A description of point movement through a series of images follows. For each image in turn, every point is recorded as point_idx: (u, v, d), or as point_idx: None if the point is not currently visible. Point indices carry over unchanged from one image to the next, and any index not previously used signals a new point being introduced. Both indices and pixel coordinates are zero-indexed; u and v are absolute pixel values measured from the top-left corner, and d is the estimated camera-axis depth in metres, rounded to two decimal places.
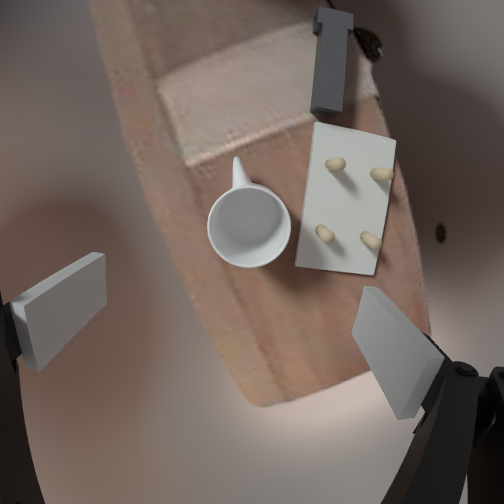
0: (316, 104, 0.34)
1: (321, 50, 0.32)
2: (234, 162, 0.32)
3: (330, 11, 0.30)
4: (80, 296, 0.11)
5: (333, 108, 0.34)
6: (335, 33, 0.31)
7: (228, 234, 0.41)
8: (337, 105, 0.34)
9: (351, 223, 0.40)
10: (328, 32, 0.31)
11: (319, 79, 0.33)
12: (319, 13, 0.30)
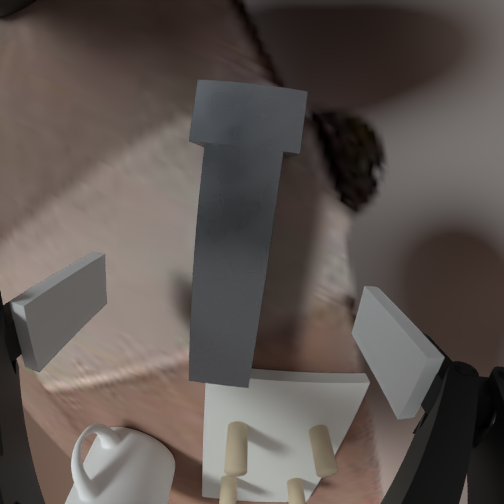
0: (190, 377, 0.16)
1: (197, 243, 0.14)
2: (71, 466, 0.15)
3: (234, 93, 0.12)
4: (80, 296, 0.11)
5: (228, 384, 0.16)
6: (241, 177, 0.13)
7: None
8: (237, 378, 0.16)
9: (273, 474, 0.23)
10: (219, 177, 0.13)
11: (193, 327, 0.15)
12: (197, 108, 0.12)
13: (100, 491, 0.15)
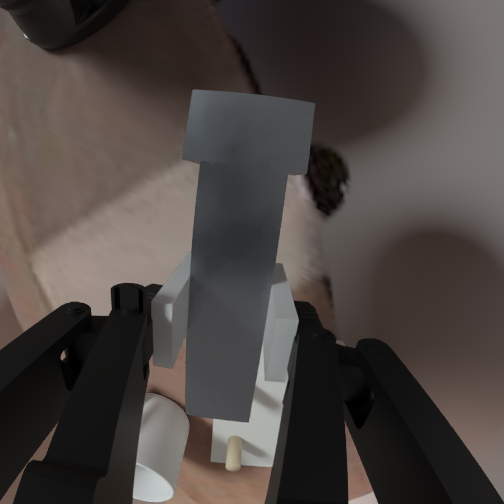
0: (187, 411, 0.15)
1: (192, 273, 0.13)
2: None
3: (233, 105, 0.11)
4: None
5: (227, 418, 0.15)
6: (241, 200, 0.12)
7: None
8: (237, 413, 0.14)
9: (272, 434, 0.30)
10: (216, 200, 0.12)
11: (189, 361, 0.14)
12: (191, 122, 0.11)
13: None
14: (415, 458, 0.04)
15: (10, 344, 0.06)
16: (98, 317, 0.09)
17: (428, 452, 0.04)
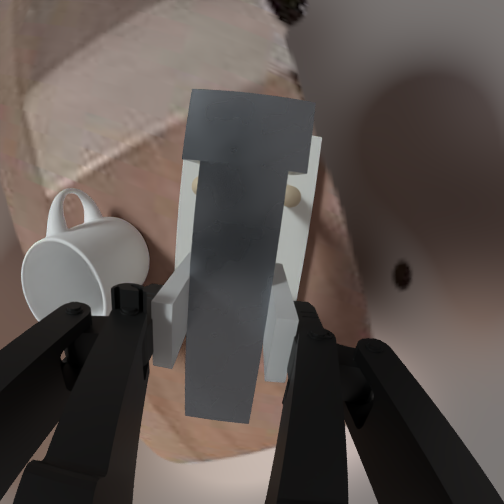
0: (187, 412, 0.14)
1: (192, 273, 0.13)
2: (53, 200, 0.20)
3: (233, 104, 0.11)
4: None
5: (227, 419, 0.14)
6: (241, 200, 0.12)
7: (90, 281, 0.29)
8: (237, 414, 0.14)
9: None
10: (216, 200, 0.12)
11: (188, 362, 0.14)
12: (191, 121, 0.11)
13: (69, 230, 0.20)
14: (416, 458, 0.04)
15: (10, 344, 0.06)
16: (98, 317, 0.09)
17: (428, 452, 0.04)
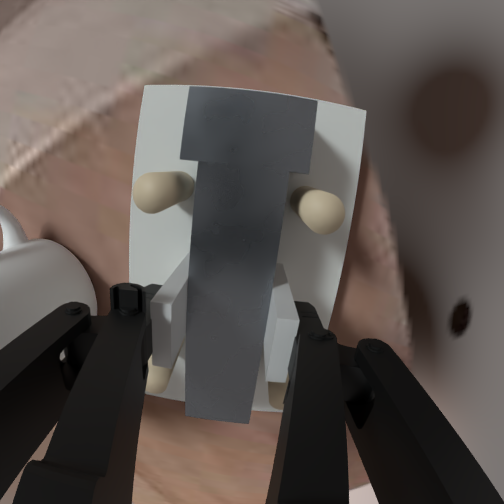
0: (187, 412, 0.14)
1: (191, 276, 0.12)
2: None
3: (232, 102, 0.10)
4: None
5: (227, 420, 0.15)
6: (240, 202, 0.12)
7: None
8: (237, 414, 0.14)
9: None
10: (215, 201, 0.12)
11: (188, 364, 0.13)
12: (189, 120, 0.11)
13: None
14: (416, 458, 0.04)
15: (9, 344, 0.06)
16: (97, 317, 0.09)
17: (429, 452, 0.04)
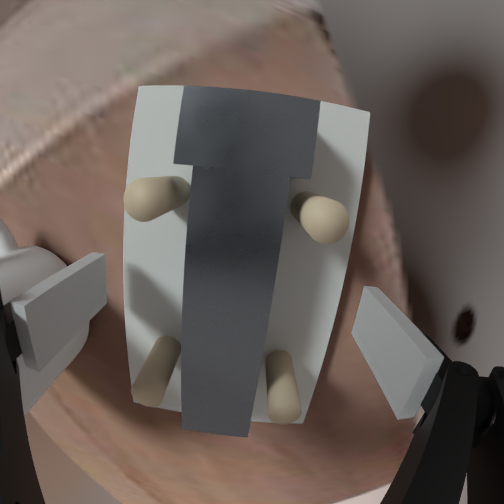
0: (183, 426, 0.14)
1: (186, 287, 0.12)
2: None
3: (229, 103, 0.10)
4: (80, 296, 0.11)
5: (225, 433, 0.14)
6: (238, 209, 0.11)
7: None
8: (235, 428, 0.14)
9: None
10: (211, 209, 0.11)
11: (184, 378, 0.13)
12: (183, 122, 0.10)
13: None
14: None
15: None
16: None
17: None
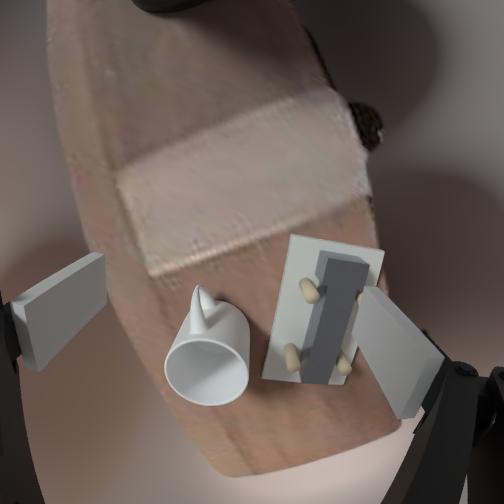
0: (302, 381, 0.35)
1: (319, 324, 0.33)
2: (192, 302, 0.30)
3: (342, 265, 0.31)
4: (80, 296, 0.11)
5: (319, 383, 0.35)
6: (340, 299, 0.32)
7: (194, 347, 0.38)
8: (324, 380, 0.35)
9: None
10: (332, 299, 0.32)
11: (310, 358, 0.34)
12: (326, 271, 0.31)
13: (210, 326, 0.30)
14: None
15: None
16: None
17: None
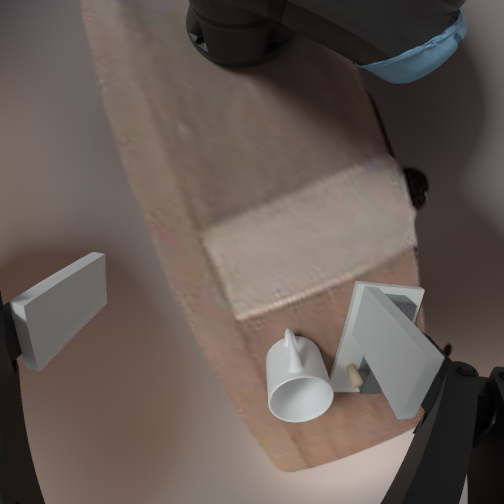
0: (362, 392, 0.42)
1: None
2: (290, 348, 0.36)
3: None
4: (80, 296, 0.11)
5: (374, 393, 0.42)
6: None
7: None
8: (377, 390, 0.42)
9: None
10: None
11: (369, 376, 0.41)
12: None
13: (303, 364, 0.37)
14: None
15: None
16: None
17: None
